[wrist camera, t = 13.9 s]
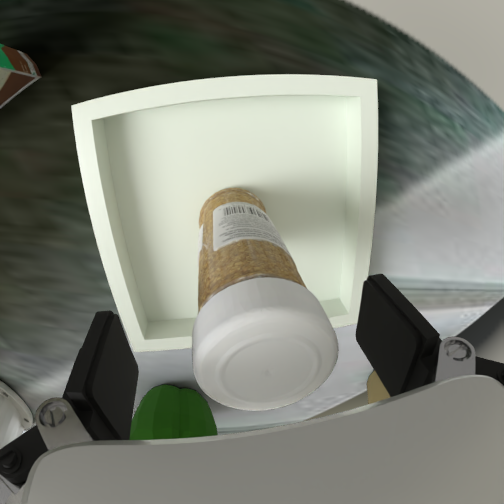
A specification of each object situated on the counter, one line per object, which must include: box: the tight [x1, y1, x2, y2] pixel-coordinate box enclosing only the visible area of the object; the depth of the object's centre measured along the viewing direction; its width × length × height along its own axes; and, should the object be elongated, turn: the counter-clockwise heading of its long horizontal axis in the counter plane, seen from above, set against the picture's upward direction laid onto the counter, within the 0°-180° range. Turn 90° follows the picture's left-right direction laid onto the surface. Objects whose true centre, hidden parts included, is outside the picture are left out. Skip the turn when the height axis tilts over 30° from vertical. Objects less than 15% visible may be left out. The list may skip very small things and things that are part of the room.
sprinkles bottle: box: [192, 188, 339, 411], centre depth 15 cm, size 5×5×14 cm
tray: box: [71, 74, 378, 352], centre depth 20 cm, size 18×18×3 cm
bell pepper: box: [129, 384, 217, 440], centre depth 25 cm, size 8×8×10 cm
